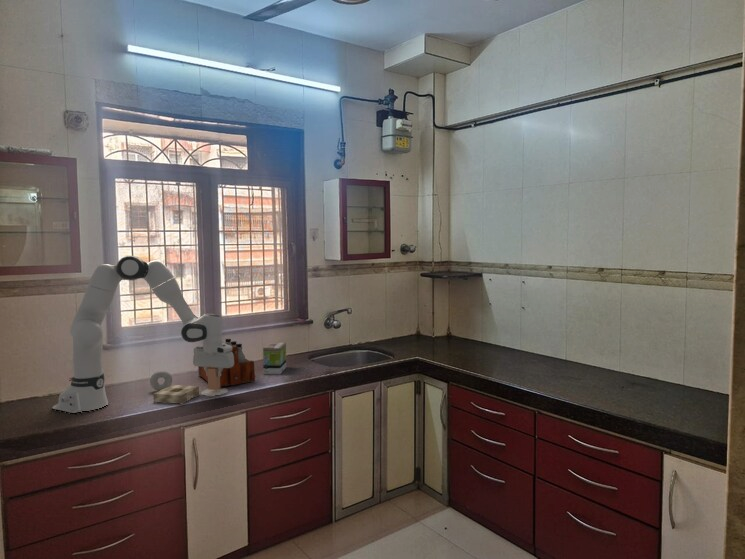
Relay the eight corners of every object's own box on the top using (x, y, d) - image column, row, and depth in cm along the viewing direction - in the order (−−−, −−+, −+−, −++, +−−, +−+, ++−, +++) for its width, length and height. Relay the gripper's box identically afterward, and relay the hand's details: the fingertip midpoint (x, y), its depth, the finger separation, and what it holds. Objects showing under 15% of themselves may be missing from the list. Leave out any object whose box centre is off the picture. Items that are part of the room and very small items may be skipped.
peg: (208, 389, 238) (207, 368, 237) (212, 387, 242) (212, 366, 241) (215, 390, 237) (215, 369, 236) (220, 387, 241) (219, 367, 240)
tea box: (281, 374, 271) (280, 347, 270) (262, 374, 271) (262, 347, 270) (286, 367, 286) (286, 342, 285) (269, 367, 286) (268, 342, 285)
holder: (153, 402, 226) (153, 393, 226) (173, 393, 239) (173, 384, 239) (180, 404, 222) (180, 395, 222) (199, 395, 236) (198, 386, 236)
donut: (172, 388, 247) (172, 368, 246) (172, 390, 243) (171, 370, 242) (150, 390, 243) (149, 370, 243) (150, 392, 240) (149, 372, 239)
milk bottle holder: (215, 389, 242) (214, 349, 241) (196, 374, 271) (195, 339, 270) (257, 382, 254) (256, 344, 253) (235, 369, 283) (234, 335, 282)
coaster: (196, 395, 235) (196, 394, 235) (210, 388, 247) (210, 386, 247) (219, 397, 232) (218, 396, 232) (232, 389, 244) (232, 388, 244)
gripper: (189, 347, 237) (190, 376, 238) (228, 349, 232) (229, 379, 233) (197, 345, 243) (198, 373, 244) (235, 346, 238) (236, 375, 239)
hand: (213, 376), depth 239 cm, fingers closed on peg, 4 cm apart
